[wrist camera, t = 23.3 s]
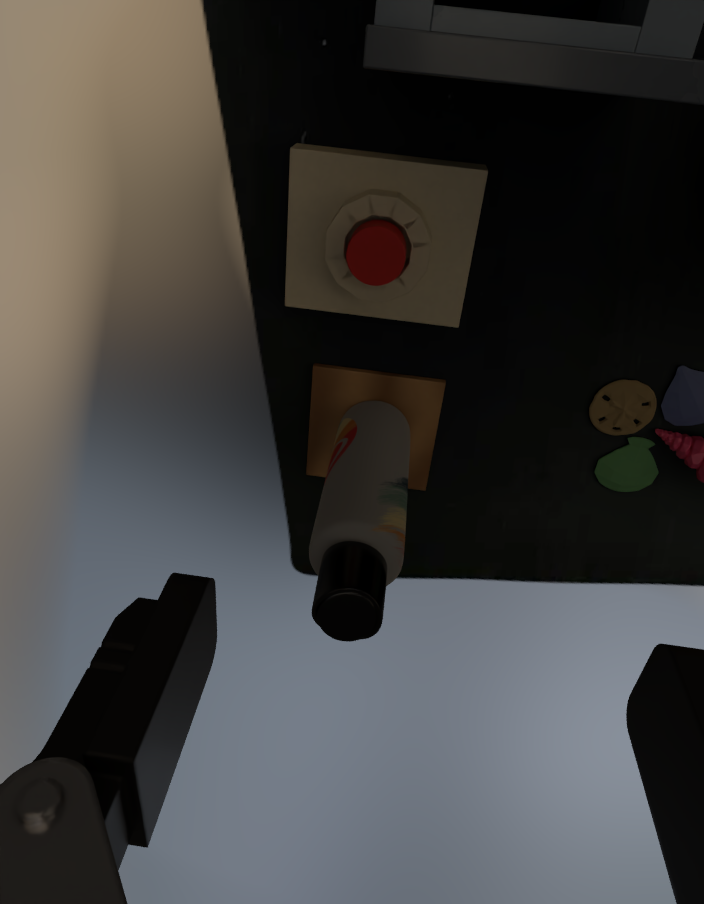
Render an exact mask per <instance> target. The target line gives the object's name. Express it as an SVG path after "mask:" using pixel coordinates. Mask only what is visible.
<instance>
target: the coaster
mask: <svg viewBox="0 0 704 904" xmlns="http://www.w3.org/2000/svg"><path fill="white" fill-rule="evenodd" d="M445 384H446V381H445V380H443V379H435V378H427V377H419V376H411V375H404V374H396V373H388V372H380V371H372V370H365V369H357V368H349V367H341V366H333V365H326V364H318V363H314V365H313V373H312V389H311V405H310V421H309V437H308V453H307V469H306V475H313V476H320V477H326V475H327V471H328V467H329V463H330V459H331V455H332V451H333V447H334V442H335V438H336V434H337V431H338V427H339V424H340V422H341V419H342V417H343V416H344V414H345V413H346V412H347V411H348V410H349V409H350V408H351V407H353V406H354V405H356V404H358V403H361V402H365V401H382V402H385V403H388V404H391V405H392V406H394V407H396V408H397V409H398V410H399V411H401V412H402V414H403V415H404V416H405V418H406V420H407V422H408V424H409V428H410V457H409V475H408V488H409V489H417V490H424V491H425V490H426V485H427V480H428V474H429V469H430V464H431V458H432V453H433V448H434V442H435V437H436V432H437V426H438V421H439V416H440V411H441V405H442V400H443V395H444V389H445Z"/></svg>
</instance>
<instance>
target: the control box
mask: <svg viewBox="0 0 704 904" xmlns="http://www.w3.org/2000/svg"><path fill="white" fill-rule="evenodd" d="M487 175H488V169H487V167H486V165H484V164H475V163H466V162H457V161H449V160H440V159H431V158H423V157H414V156H405V155H396V154H388V153H379V152H370V151H361V150H353V149H344V148H335V147H326V146H318V145H309V144H300V143H296V144H295V145H294V146H292V147H291V148H290V167H289V196H288V225H287V254H286V284H285V306H289V307H297V308H305V309H313V310H321V311H329V312H337V313H345V314H353V315H361V316H369V317H377V318H385V319H393V320H401V321H409V322H417V323H425V324H433V325H441V326H449V327H457V328H458V327H459V322H460V317H461V312H462V306H463V301H464V296H465V291H466V285H467V280H468V275H469V270H470V264H471V259H472V254H473V249H474V243H475V238H476V233H477V228H478V222H479V217H480V212H481V207H482V201H483V196H484V191H485V186H486V180H487ZM370 220H385V221H388V222H390V223H392V224H394V225H395V226H396V227H397V228H398V229H399V230H400V231H401V232H402V234H403V236H404V238H405V241H406V248H407V250H406V260H405V264H404V267H403V269H402V271H401V273H400V274H399V276H398V277H397V278H396V279H394V280H393V281H392V282H390V283H388V284H385V285H381V286H371V285H367V284H365V283H362V282H361V281H359V280H358V279H357V278H355V277H354V275H353V274H352V273H351V271H350V269H349V267H348V265H347V261H346V251H347V247H348V244H349V241H350V239H351V237H352V235H353V233H354V231H355V230H356V229H357V228H358V227H359V226H360V225H362V224H363V223H365V222H367V221H370Z"/></svg>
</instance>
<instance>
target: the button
mask: <svg viewBox="0 0 704 904" xmlns="http://www.w3.org/2000/svg"><path fill="white" fill-rule="evenodd" d="M406 250H407V248H406V241H405V238H404V236H403V234H402V232H401V231H400V230H399V229H398V228H397V227H396V226H395V225H394V224H392V223H390V222H388V221H385V220H370V221H367V222H365V223H363V224H362V225H360V226H359V227H358V228H357V229H356V230H355V231H354V233H353V235H352V237H351V239H350V241H349V244H348V247H347V251H346V261H347V265H348V267H349V269H350V271H351V273H352V274H353V275H354V277H355V278H357V279H358V280H359V281H361V282H362V283H365V284H367V285H371V286H381V285H385V284H388V283H390V282H392V281H393V280H394V279H396V278H397V277H398V276H399V274H400V273H401V271H402V269H403V267H404V264H405V260H406Z"/></svg>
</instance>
